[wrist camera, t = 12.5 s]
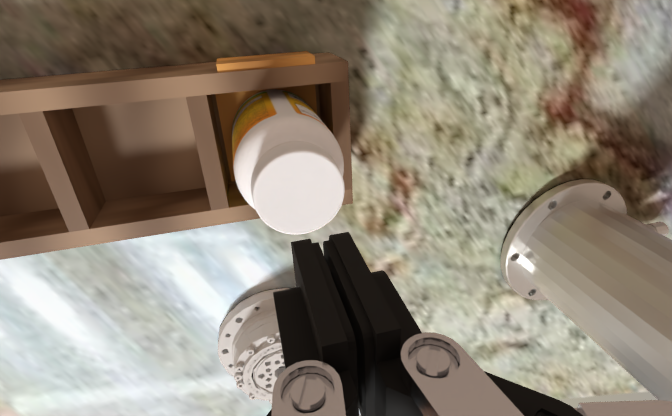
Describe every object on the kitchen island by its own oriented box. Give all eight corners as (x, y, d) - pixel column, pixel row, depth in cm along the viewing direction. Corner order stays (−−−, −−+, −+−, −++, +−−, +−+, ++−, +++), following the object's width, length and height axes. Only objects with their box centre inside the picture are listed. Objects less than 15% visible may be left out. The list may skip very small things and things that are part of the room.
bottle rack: (328, 45, 25) (347, 53, 21) (335, 176, 29) (352, 203, 25) (-118, 81, 20) (-199, 99, 16) (-34, 230, 25) (-82, 272, 21)
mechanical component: (335, 279, 34) (212, 292, 31) (349, 314, 30) (211, 332, 27) (330, 363, 38) (222, 381, 36) (342, 404, 34) (222, 426, 32)
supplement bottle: (235, 173, 26) (240, 256, 17) (227, 88, 23) (228, 136, 15) (316, 168, 27) (357, 243, 19) (317, 87, 25) (364, 130, 16)
